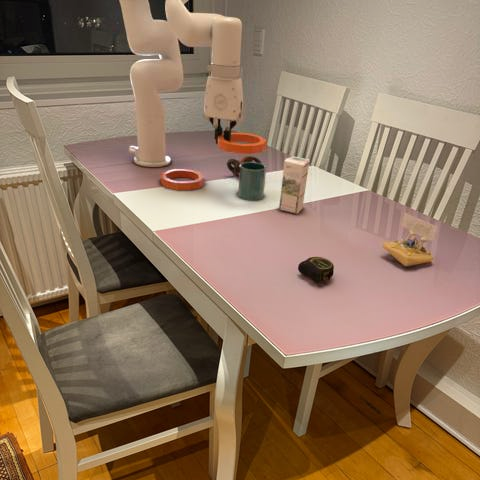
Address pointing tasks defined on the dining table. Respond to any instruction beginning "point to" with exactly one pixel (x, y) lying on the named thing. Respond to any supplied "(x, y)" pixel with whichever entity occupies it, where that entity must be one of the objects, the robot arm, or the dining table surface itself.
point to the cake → (412, 242)
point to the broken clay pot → (237, 163)
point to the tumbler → (251, 180)
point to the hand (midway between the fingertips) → (222, 143)
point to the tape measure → (317, 269)
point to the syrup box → (293, 184)
